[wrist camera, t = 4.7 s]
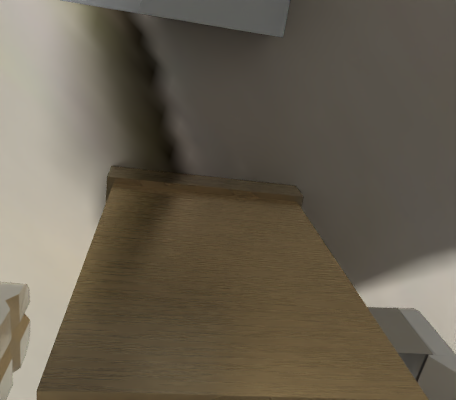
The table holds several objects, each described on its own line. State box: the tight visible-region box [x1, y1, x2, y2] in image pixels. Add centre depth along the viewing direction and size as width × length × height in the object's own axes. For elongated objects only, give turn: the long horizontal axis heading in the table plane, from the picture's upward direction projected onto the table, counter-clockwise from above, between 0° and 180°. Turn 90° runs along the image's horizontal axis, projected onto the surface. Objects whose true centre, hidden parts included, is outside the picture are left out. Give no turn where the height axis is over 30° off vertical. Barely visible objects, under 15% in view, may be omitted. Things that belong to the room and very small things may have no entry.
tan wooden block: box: [37, 166, 429, 400], centre depth 9 cm, size 5×5×7 cm
